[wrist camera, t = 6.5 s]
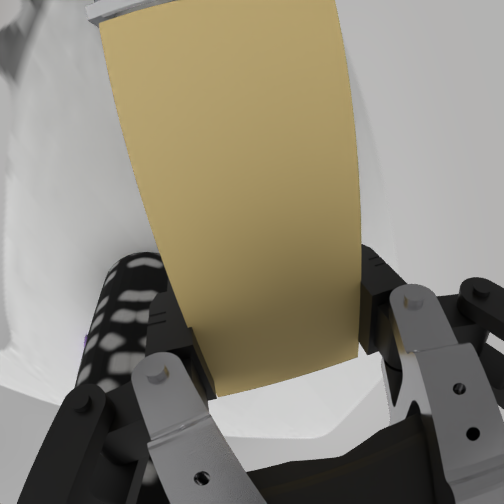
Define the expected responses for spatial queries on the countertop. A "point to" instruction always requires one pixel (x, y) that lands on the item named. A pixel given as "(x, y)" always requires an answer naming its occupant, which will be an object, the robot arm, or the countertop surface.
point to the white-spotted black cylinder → (124, 338)
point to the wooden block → (247, 176)
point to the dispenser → (109, 9)
